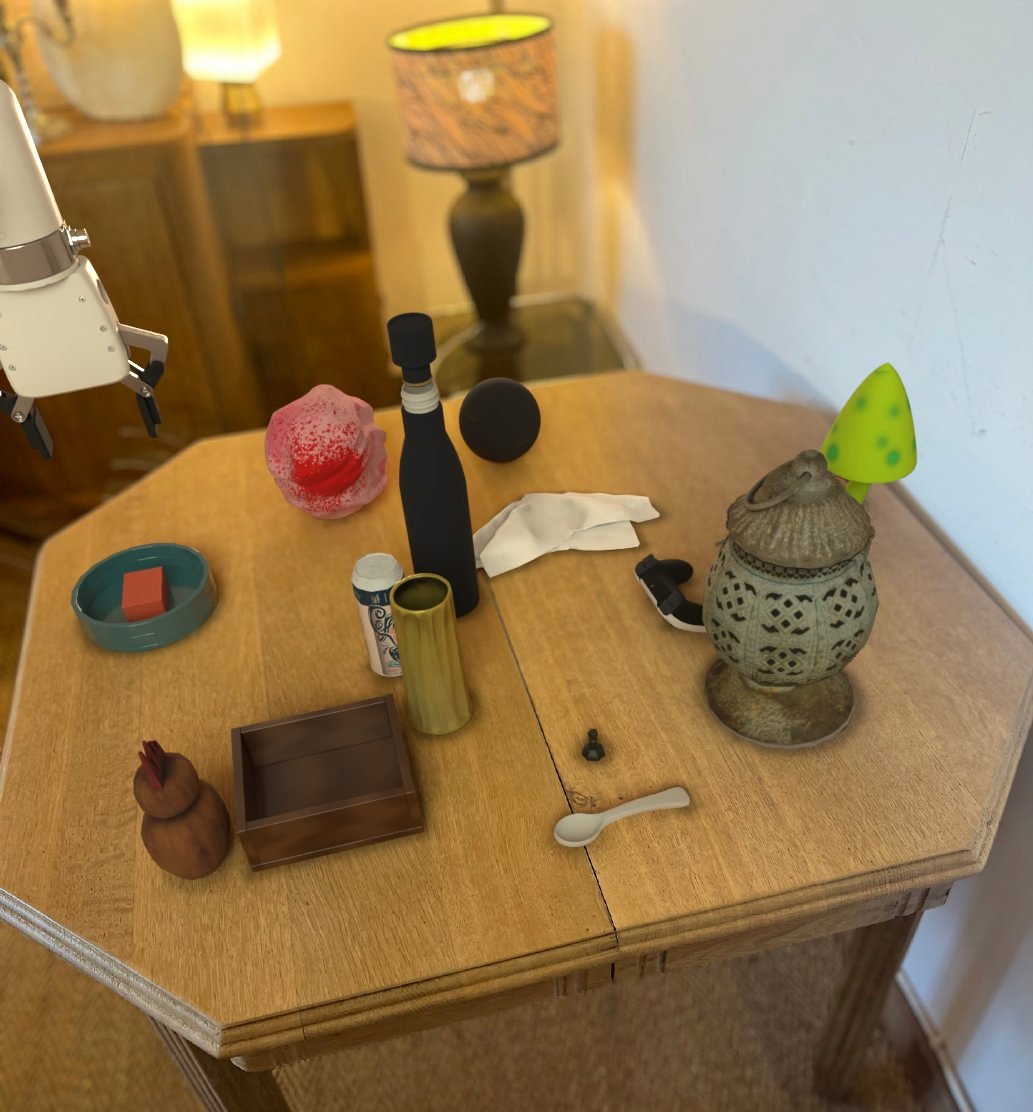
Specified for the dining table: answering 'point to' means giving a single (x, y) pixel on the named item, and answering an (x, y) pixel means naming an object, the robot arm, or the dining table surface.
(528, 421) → the speaker
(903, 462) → the mushroom
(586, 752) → the chess pawn
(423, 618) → the vase
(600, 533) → the cloth
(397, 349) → the black bottle
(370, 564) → the beer can
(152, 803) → the wooden figurine
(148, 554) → the bowl
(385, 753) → the holder
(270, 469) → the decorative rock
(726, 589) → the lantern
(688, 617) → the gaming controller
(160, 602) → the red rectangular prism
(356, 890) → the dining table surface
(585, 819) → the spoon
